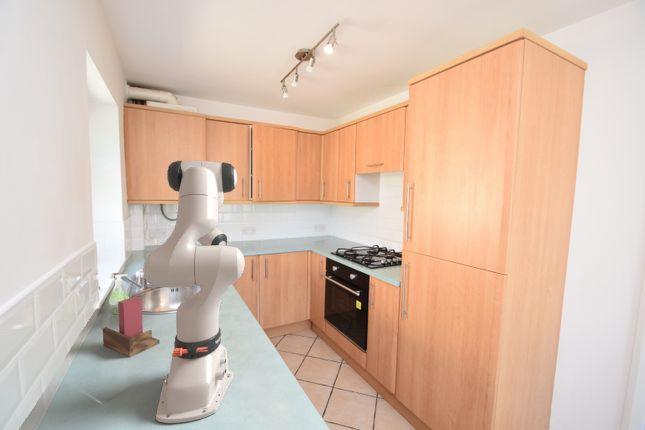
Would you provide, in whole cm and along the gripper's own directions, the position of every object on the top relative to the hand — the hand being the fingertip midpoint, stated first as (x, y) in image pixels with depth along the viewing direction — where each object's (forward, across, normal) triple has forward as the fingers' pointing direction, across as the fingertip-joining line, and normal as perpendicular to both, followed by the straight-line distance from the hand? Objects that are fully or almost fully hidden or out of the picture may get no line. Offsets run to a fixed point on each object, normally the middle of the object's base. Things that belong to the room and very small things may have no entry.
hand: (161, 266), depth 109 cm
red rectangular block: (+12, 0, +24) cm, 27 cm away
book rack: (+12, -1, +26) cm, 28 cm away
